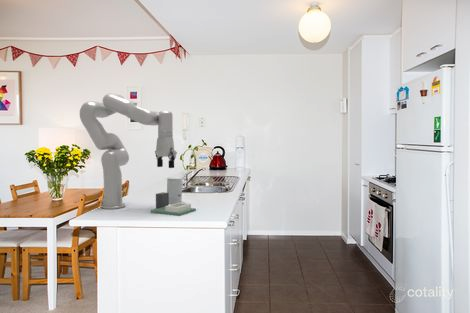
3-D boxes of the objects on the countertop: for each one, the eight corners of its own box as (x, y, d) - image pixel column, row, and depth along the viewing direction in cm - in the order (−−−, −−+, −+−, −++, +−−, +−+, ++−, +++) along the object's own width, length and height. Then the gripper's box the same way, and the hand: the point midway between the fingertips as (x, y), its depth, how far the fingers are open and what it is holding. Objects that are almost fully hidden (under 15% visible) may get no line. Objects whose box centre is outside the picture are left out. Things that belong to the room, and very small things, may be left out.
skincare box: (166, 204, 217) (166, 178, 216) (168, 202, 223) (167, 177, 222) (181, 203, 217) (180, 178, 216) (182, 201, 223) (182, 176, 222)
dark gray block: (156, 208, 203) (155, 193, 203) (163, 206, 209) (163, 192, 209) (161, 209, 202) (161, 194, 201) (169, 207, 208) (169, 192, 207)
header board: (150, 212, 192) (150, 205, 192) (168, 207, 205) (167, 201, 204) (179, 215, 184) (179, 208, 184) (195, 210, 196) (195, 203, 196)
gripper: (149, 134, 202) (150, 166, 203) (170, 135, 190) (170, 168, 191) (161, 134, 207) (161, 166, 208) (181, 135, 196) (181, 167, 197)
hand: (165, 167), depth 200 cm, fingers open, 9 cm apart
